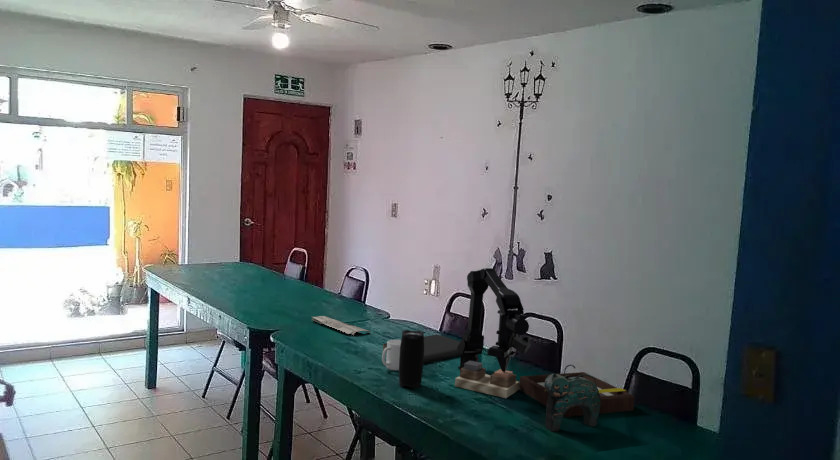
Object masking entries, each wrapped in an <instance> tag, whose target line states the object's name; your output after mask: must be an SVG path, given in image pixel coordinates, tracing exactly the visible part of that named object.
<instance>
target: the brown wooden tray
mask: <svg viewBox="0 0 840 460" xmlns="http://www.w3.org/2000/svg"><path fill="white" fill-rule="evenodd" d="M551 374H552V373H551ZM551 374H550V373H549V374H536V375H523V376H522V375H521V376H519V390H520V392H522V393H524V394H526V395H528V396H529V397H530V398H532V399H534V400H536V402H539V403H540V404H541V405H543V406H545V407H546V406H547V401H548V396H549V394H548V393H547V391H546V390H545V380H546V378H547V377H548V376H549V375H551ZM557 374H558V375H561V376H569V377H568V378H571V377H577V376H579V375H582V374H588V375H590V374H589V373H587V372H585V371H584V372H583V371H582V372H581V371H580V372H568V373H567V372H565V375H564V373H563V372H562V373H557ZM580 377H583V378H586V379H588V380H590V381H592V382H593V383H594V384H595V381H594V379H593V378H592V377H590V376H580ZM593 377H594V378H595V380H596V385H597V388H598V390H599V394H600V399H601V405H600V411H599V415H600V414H610V413H618V412H619V413H621V412H623V413H624V412H632V411H634V408H635V407H634V406H635V396H634V395H633V394H631V393H629V392H628V390H626V389H624V388H621V387H617V386H615V385H612V384H610V383H608V382H606V381H603V380H601V379H600V378H597V377H595V376H593ZM519 390H518V391H519ZM579 416H580V417H581V416H584V414H583V409H582V408H581V407H580V406H575V407H572V408H569V409H568V410H567V411H566V413H565V415H564V416H563V418H568V417H579Z"/></svg>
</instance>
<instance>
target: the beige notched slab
mask: <svg viewBox="0 0 840 460" xmlns="http://www.w3.org/2000/svg"><path fill="white" fill-rule="evenodd" d="M312 320H313V321H315V322H318V323H320V324H319V325H321V324H324V325H327V326H329V327H328V328H330V327H332V328H335V329H337V330H336V331H338V330H340V331H339V332H341V331H342V332H341V333H344V332H345V333H344V334H346V335H349V334H352V335H353V336H354V335H355V333H356V332H360V331H367V332H371V331H370V330H368V329H364V328H362V327H359V326H356V325H353V324H349V323H346V322H343V321H340V320H338V319H333V318H331V317H328V316H327V315H319V316H312V318H311V321H312ZM313 321H312V322H313ZM315 322H314V323H315ZM318 323H317V324H318ZM324 325H323V326H324ZM327 326H326V327H327ZM332 328H331V329H332ZM335 329H334V330H335ZM352 335H351V336H352Z"/></svg>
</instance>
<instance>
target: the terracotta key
mask: <svg viewBox="0 0 840 460" xmlns="http://www.w3.org/2000/svg"><path fill="white" fill-rule="evenodd" d="M493 374H494V376H498V377H503V378H507V379H508V378H510V377H511V376H513V374H514V372H513V371H511V370H507V369H506V371H505V372H502V370H501V368H499V369H498V370H495V371H494V372H493Z"/></svg>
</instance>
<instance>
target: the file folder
mask: <svg viewBox="0 0 840 460" xmlns="http://www.w3.org/2000/svg"><path fill="white" fill-rule="evenodd" d="M460 342H461V341H460V340H457V339H453V338H450V337H447V336H444V335H440V334H432V335H426V336H425V335H424V361H423V365H424V364H429V363H434V362H437V361H442V360H447V359H452V357H453V358H457V357H461V354H460V353H458V349H457V347H458V345H459V344H460ZM385 348H387V342H386V343H383V345H382V352H383V351H384V349H385ZM386 353H387V351H386ZM456 356H457V357H456Z"/></svg>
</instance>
